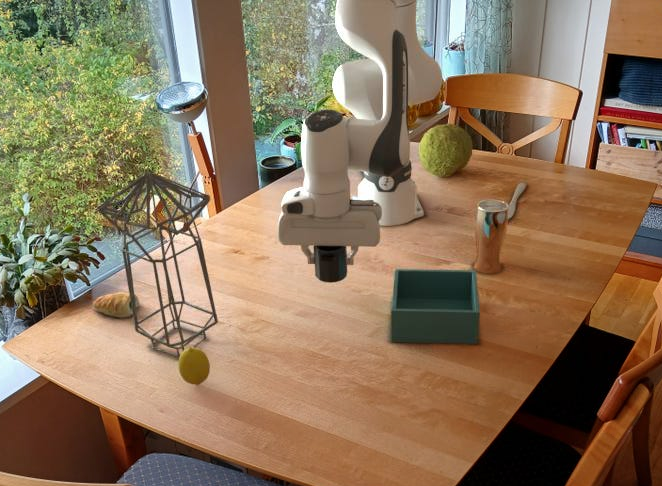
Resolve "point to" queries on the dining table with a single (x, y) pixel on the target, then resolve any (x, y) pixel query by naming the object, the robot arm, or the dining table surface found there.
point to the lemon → (194, 365)
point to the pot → (330, 263)
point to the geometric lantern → (162, 184)
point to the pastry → (115, 304)
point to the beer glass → (490, 234)
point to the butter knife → (515, 199)
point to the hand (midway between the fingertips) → (330, 263)
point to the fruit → (445, 149)
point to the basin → (435, 306)
